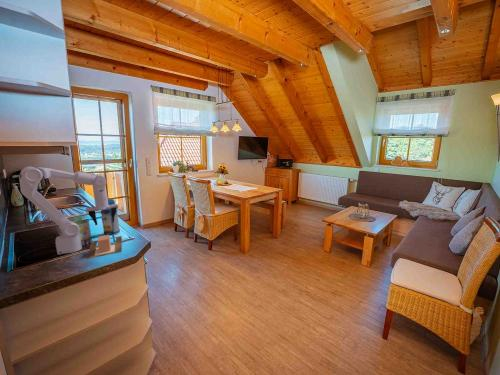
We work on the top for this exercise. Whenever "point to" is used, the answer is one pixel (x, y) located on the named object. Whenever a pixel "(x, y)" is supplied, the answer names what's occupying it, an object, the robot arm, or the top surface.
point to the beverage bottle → (110, 221)
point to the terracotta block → (104, 243)
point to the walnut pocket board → (117, 249)
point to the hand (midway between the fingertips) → (105, 223)
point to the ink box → (82, 228)
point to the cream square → (105, 252)
